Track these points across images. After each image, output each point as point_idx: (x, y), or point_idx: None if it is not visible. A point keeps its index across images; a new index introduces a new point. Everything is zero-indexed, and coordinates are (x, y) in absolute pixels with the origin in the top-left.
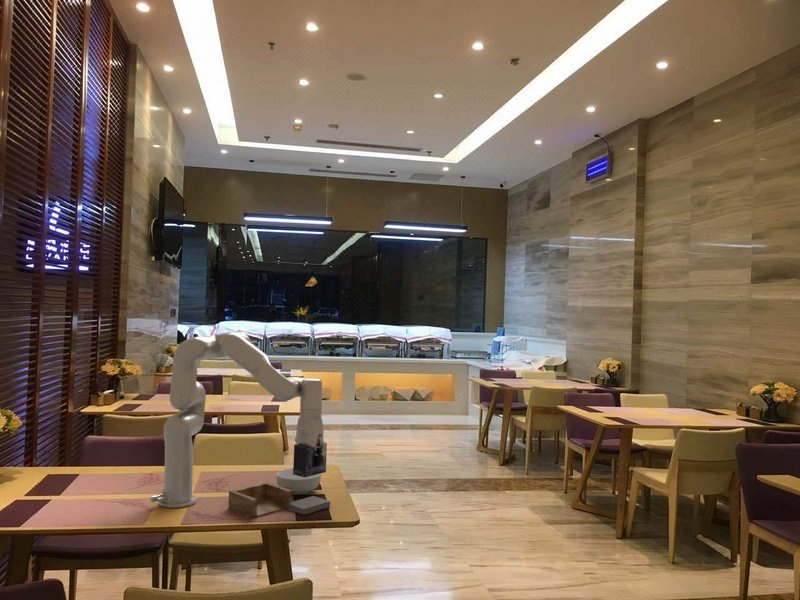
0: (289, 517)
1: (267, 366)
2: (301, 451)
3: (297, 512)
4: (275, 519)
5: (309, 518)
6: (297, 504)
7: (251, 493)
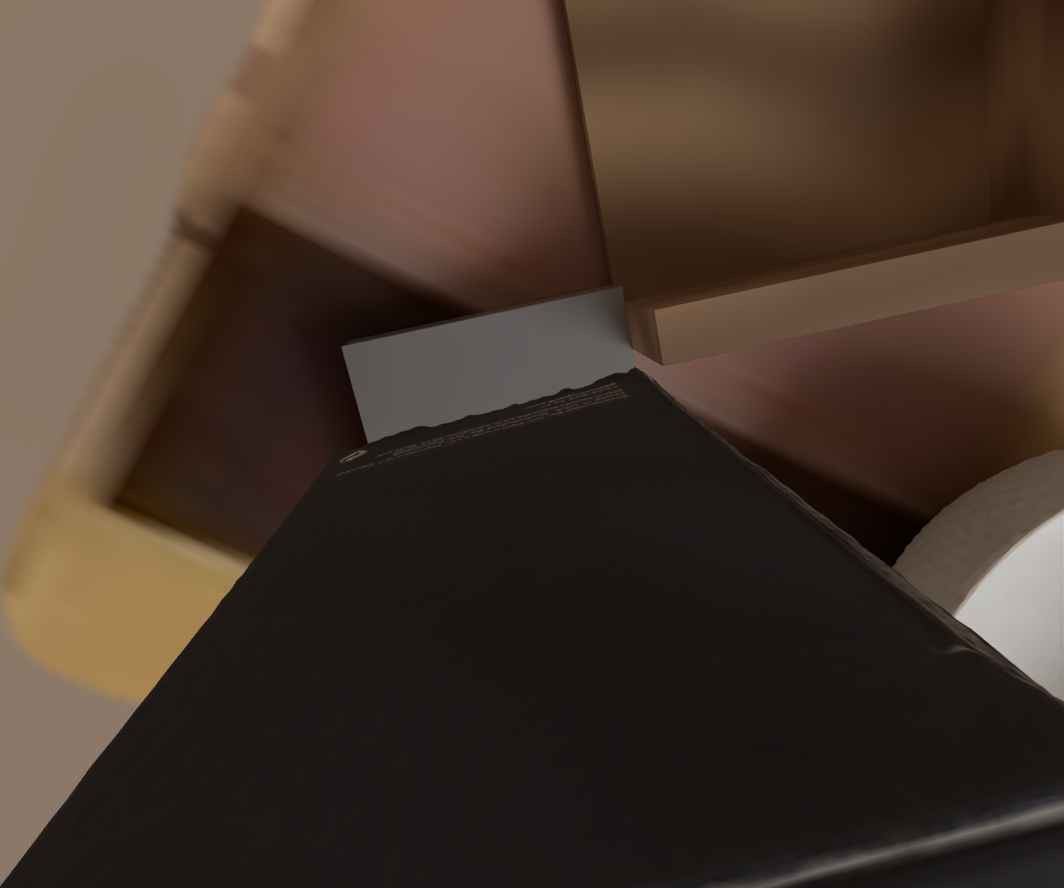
0: (355, 183)
1: None
2: (316, 748)
3: (445, 320)
4: (370, 21)
5: (228, 342)
6: (516, 361)
7: None
